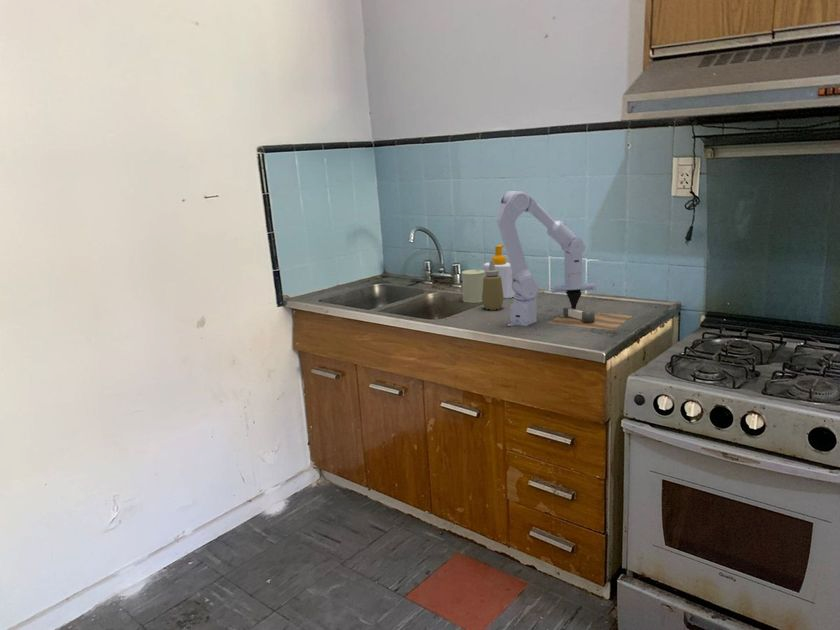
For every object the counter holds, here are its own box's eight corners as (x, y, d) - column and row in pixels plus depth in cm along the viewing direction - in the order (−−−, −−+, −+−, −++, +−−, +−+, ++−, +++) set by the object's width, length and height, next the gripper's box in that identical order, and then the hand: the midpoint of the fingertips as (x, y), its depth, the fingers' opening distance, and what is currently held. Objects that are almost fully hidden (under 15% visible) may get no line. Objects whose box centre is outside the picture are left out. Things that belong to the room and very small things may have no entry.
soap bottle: (519, 295, 252) (518, 245, 247) (510, 299, 246) (509, 248, 241) (489, 293, 260) (488, 244, 255) (480, 297, 253) (478, 247, 248)
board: (613, 333, 194) (613, 329, 193) (547, 325, 206) (547, 322, 206) (632, 318, 208) (632, 315, 208) (569, 312, 221) (569, 309, 221)
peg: (597, 321, 204) (597, 312, 203) (588, 323, 202) (588, 314, 201) (569, 314, 214) (569, 305, 214) (560, 316, 213) (560, 307, 212)
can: (490, 299, 249) (489, 269, 246) (476, 304, 242) (475, 273, 239) (472, 296, 255) (471, 267, 252) (457, 301, 248) (456, 271, 245)
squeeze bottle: (508, 309, 231) (506, 260, 227) (488, 312, 228) (487, 263, 224) (497, 305, 238) (496, 258, 234) (478, 307, 236) (476, 260, 231)
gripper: (591, 269, 213) (591, 307, 216) (549, 271, 213) (549, 310, 216) (597, 272, 206) (597, 312, 209) (553, 275, 206) (553, 315, 210)
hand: (573, 312), depth 212 cm, fingers closed, pressing on peg
